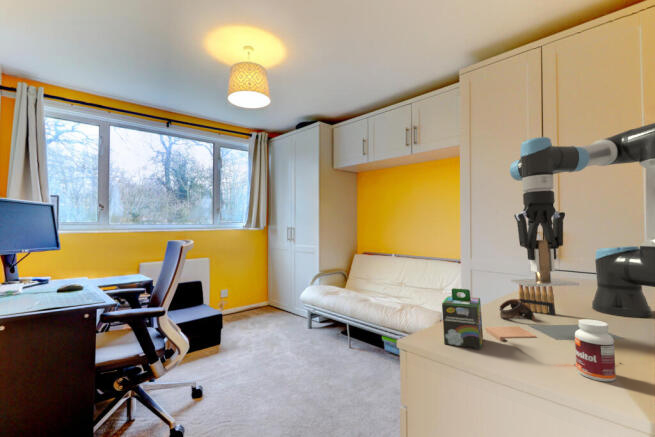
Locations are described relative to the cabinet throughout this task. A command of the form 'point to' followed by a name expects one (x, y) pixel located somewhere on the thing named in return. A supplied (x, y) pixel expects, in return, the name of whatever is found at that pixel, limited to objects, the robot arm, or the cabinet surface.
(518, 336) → the tile
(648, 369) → the cabinet surface
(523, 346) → the cabinet surface
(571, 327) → the mat
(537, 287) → the ammunition clip
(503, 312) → the brown sandal
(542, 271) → the turner
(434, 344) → the cabinet surface
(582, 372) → the pill bottle
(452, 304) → the chalk box
